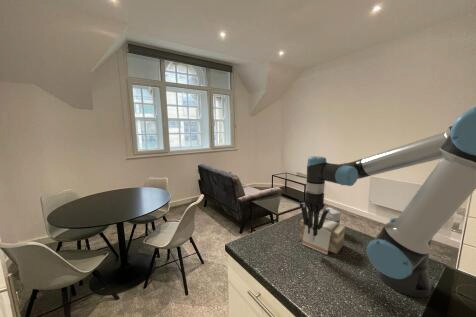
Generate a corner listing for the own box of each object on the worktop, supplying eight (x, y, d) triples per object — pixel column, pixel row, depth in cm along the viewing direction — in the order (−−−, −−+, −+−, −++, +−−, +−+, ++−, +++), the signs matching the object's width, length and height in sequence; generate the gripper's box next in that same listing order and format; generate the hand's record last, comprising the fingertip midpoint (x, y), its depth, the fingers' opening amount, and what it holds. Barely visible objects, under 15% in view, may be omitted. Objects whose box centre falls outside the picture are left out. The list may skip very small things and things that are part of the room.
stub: (331, 232, 89) (330, 232, 89) (327, 254, 89) (326, 254, 88) (306, 223, 98) (305, 223, 97) (302, 243, 97) (301, 244, 96)
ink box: (321, 226, 114) (322, 207, 112) (328, 225, 115) (329, 206, 114) (332, 234, 106) (333, 213, 104) (339, 232, 107) (341, 212, 106)
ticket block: (343, 244, 96) (345, 224, 94) (336, 254, 89) (338, 231, 87) (308, 231, 108) (309, 213, 107) (299, 239, 101) (300, 219, 99)
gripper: (333, 192, 84) (329, 243, 87) (304, 186, 93) (302, 233, 96) (326, 197, 79) (323, 250, 82) (297, 190, 88) (295, 238, 91)
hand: (312, 241), depth 89 cm, fingers closed
